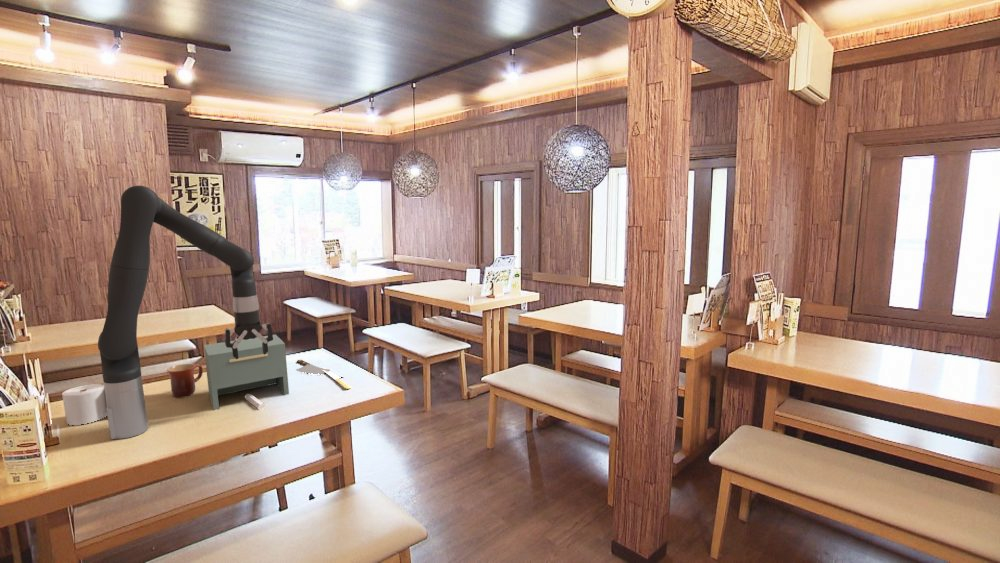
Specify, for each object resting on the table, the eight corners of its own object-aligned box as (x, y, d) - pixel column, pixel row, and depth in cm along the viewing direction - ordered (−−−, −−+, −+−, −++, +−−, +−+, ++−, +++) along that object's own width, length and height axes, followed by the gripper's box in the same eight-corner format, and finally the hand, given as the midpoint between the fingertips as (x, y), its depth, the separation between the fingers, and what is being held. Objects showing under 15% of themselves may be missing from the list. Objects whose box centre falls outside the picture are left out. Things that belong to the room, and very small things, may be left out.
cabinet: (214, 410, 172) (208, 355, 169) (209, 395, 185) (203, 345, 182) (289, 394, 185) (285, 343, 182) (279, 381, 198) (275, 334, 195)
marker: (247, 399, 184) (262, 411, 172) (241, 397, 182) (257, 409, 171) (250, 392, 184) (266, 403, 173) (244, 390, 183) (260, 402, 172)
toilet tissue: (70, 416, 168) (65, 387, 167) (115, 409, 174) (111, 381, 173) (63, 428, 159) (58, 398, 158) (110, 420, 165) (106, 390, 164)
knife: (330, 364, 217) (318, 365, 214) (356, 385, 190) (343, 386, 187) (329, 367, 217) (318, 368, 215) (356, 389, 190) (343, 390, 187)
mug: (179, 400, 181) (176, 372, 179) (164, 396, 185) (161, 369, 183) (211, 389, 191) (208, 363, 190) (196, 386, 195) (193, 360, 194)
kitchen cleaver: (282, 364, 218) (305, 358, 225) (283, 366, 219) (305, 360, 226) (309, 378, 202) (332, 370, 209) (309, 380, 202) (332, 372, 209)
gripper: (223, 314, 162) (228, 363, 164) (271, 308, 170) (276, 354, 172) (220, 310, 168) (225, 357, 170) (267, 304, 176) (271, 349, 178)
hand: (251, 356), depth 171 cm, fingers open, 8 cm apart
